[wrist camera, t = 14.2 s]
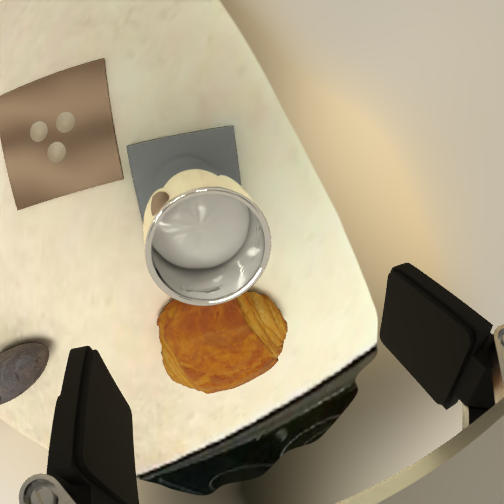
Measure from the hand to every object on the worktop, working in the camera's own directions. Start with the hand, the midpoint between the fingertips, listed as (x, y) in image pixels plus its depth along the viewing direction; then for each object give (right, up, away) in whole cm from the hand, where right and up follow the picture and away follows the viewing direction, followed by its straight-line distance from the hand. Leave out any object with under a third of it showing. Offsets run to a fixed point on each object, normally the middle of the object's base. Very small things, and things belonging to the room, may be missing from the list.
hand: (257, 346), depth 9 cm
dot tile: (-19, +14, +15) cm, 28 cm away
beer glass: (-6, +9, +20) cm, 23 cm away
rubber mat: (-6, +9, +21) cm, 24 cm away
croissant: (-5, -6, +29) cm, 30 cm away
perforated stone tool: (-31, -11, +23) cm, 40 cm away
